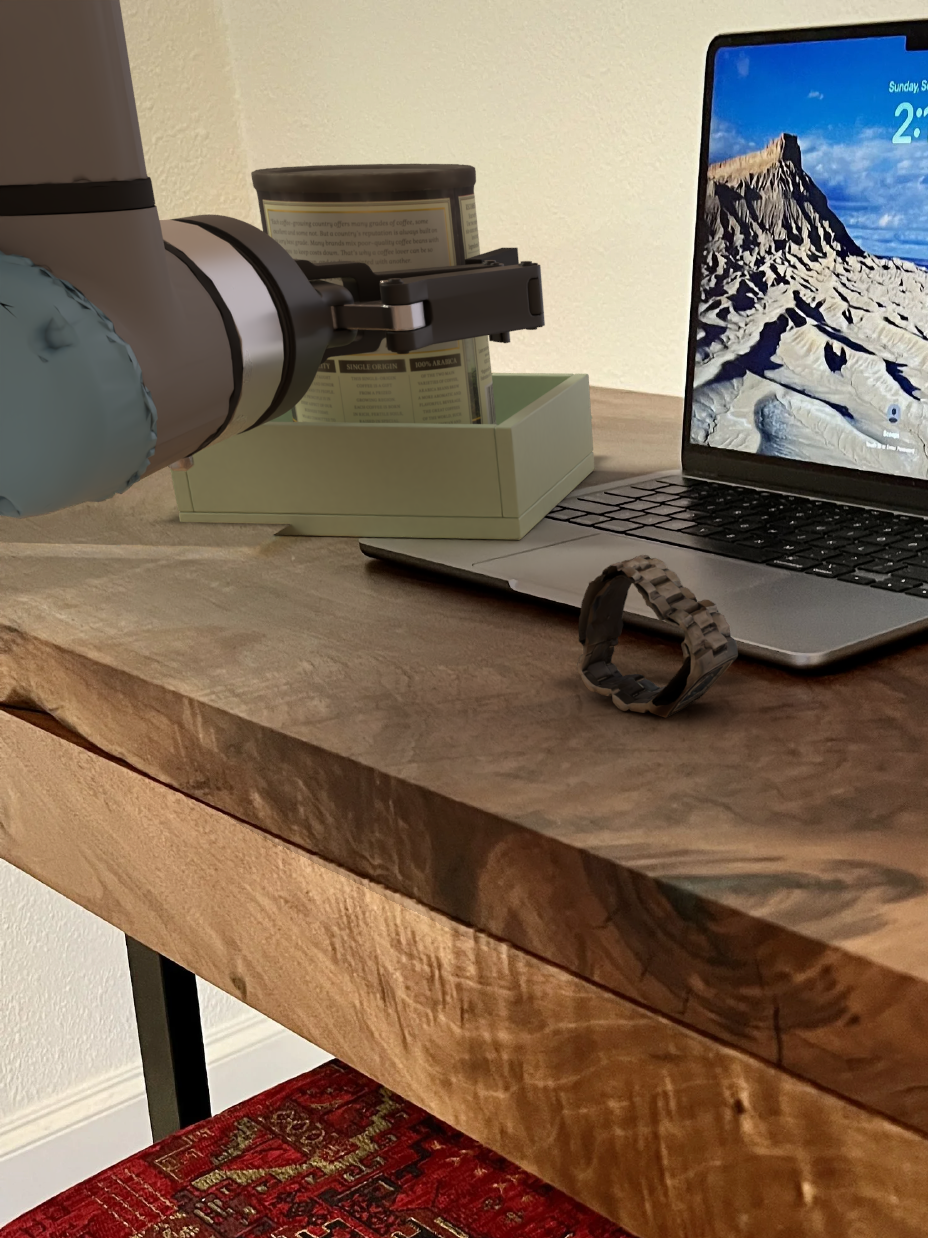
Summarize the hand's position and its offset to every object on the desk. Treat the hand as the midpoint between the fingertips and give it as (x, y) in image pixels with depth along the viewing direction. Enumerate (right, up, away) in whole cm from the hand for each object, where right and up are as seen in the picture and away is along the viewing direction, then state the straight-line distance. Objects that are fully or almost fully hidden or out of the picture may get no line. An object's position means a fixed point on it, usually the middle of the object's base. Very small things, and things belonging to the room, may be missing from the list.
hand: (375, 278), depth 78 cm
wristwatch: (+16, -26, -23) cm, 38 cm away
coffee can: (0, -8, +5) cm, 10 cm away
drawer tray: (0, -9, +5) cm, 10 cm away
